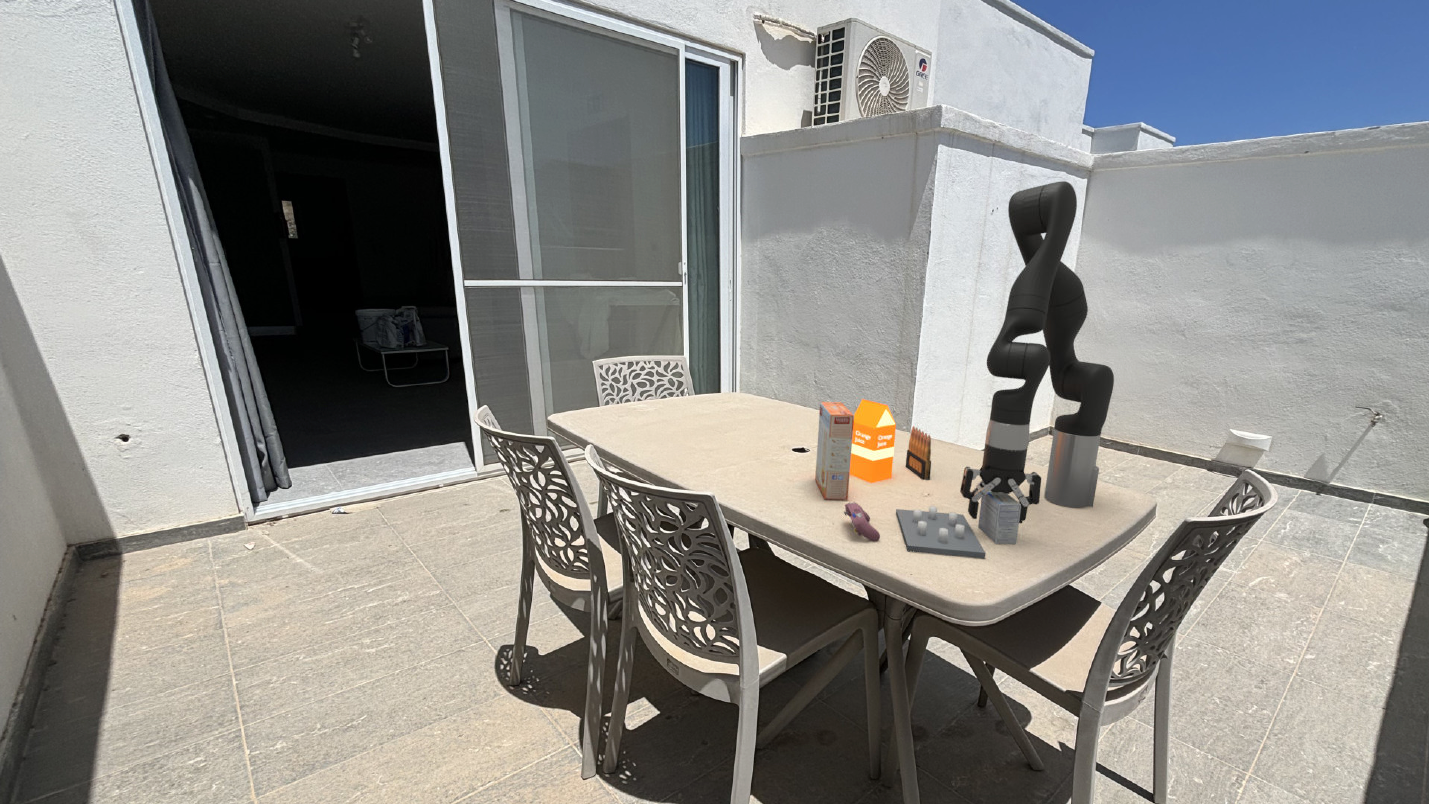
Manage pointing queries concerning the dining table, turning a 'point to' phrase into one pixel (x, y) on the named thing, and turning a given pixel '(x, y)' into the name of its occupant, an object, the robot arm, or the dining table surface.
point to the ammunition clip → (919, 454)
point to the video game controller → (861, 521)
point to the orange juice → (872, 442)
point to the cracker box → (834, 450)
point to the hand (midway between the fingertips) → (995, 519)
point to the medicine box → (999, 517)
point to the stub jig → (938, 533)
